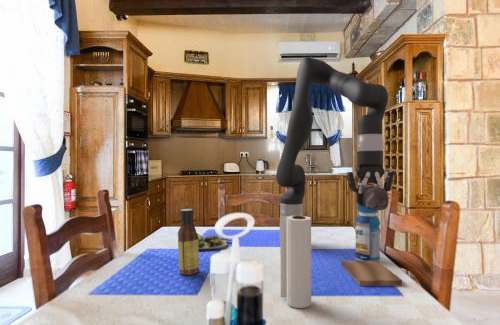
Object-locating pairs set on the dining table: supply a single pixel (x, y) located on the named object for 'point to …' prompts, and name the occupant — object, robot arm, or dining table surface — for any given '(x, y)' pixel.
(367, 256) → the beverage bottle
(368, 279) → the walnut board
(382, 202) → the perforated stone tool
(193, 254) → the sauce bottle
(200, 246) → the salad plate
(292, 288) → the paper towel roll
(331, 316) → the dining table surface
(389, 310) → the dining table surface
